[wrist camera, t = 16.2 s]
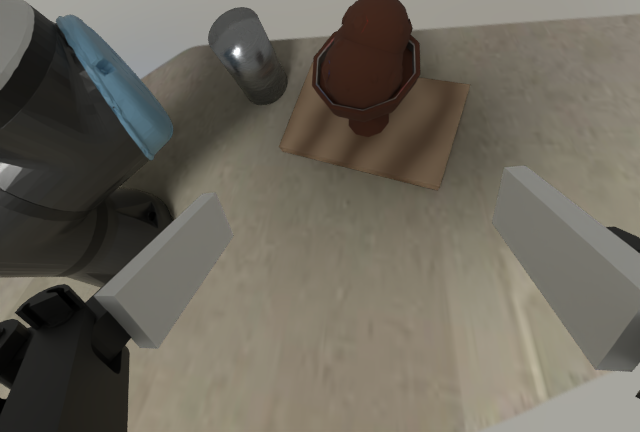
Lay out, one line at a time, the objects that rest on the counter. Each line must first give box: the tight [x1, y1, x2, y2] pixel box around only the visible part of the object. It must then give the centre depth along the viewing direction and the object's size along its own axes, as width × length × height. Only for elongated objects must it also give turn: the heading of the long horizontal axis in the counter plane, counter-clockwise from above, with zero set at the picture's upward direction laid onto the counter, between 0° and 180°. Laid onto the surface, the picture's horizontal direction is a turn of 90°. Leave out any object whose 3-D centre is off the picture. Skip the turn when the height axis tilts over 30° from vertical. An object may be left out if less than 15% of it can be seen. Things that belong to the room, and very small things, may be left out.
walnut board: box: [279, 63, 470, 190], centre depth 36 cm, size 22×14×2 cm, turn 70°
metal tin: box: [208, 7, 287, 105], centre depth 38 cm, size 7×7×10 cm
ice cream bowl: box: [312, 0, 420, 137], centre depth 28 cm, size 11×11×15 cm
